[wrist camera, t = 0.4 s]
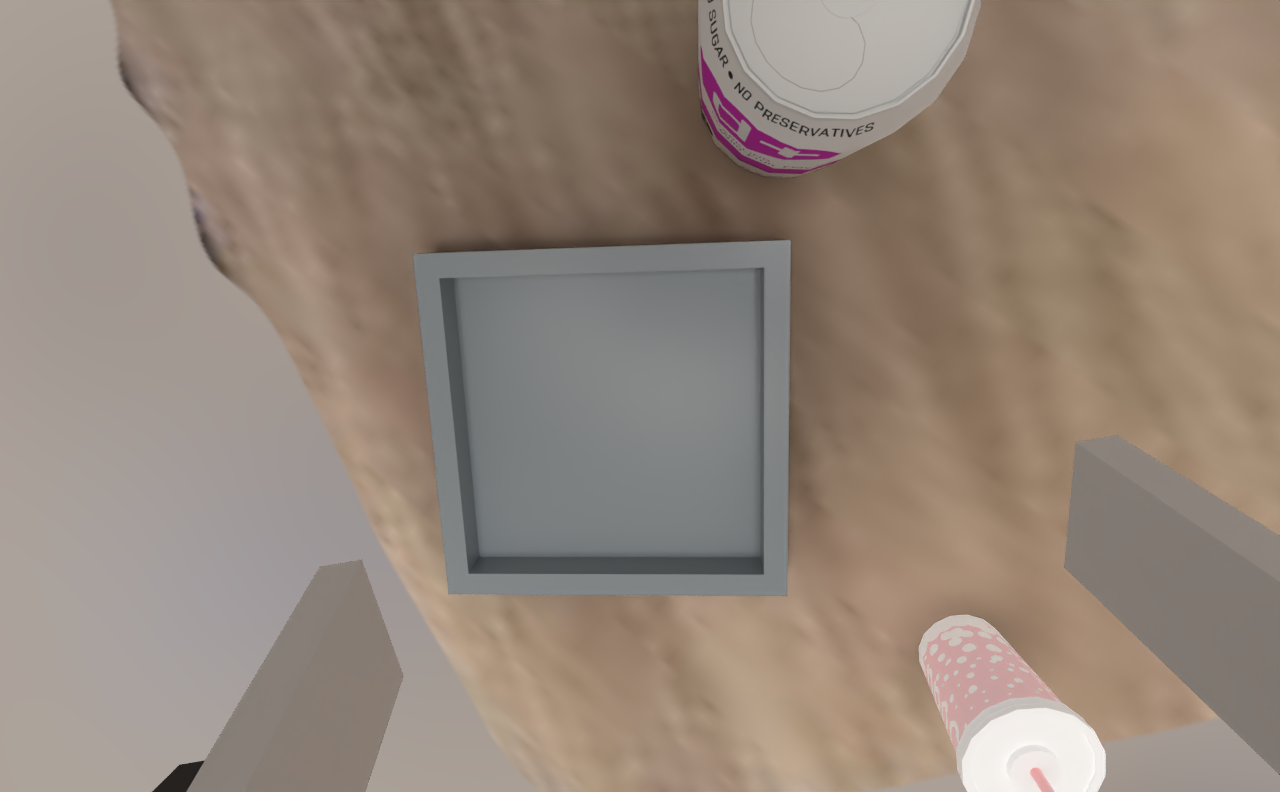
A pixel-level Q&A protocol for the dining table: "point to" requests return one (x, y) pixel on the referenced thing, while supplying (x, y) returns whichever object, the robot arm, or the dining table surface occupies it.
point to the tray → (610, 417)
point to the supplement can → (821, 74)
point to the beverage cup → (1005, 715)
